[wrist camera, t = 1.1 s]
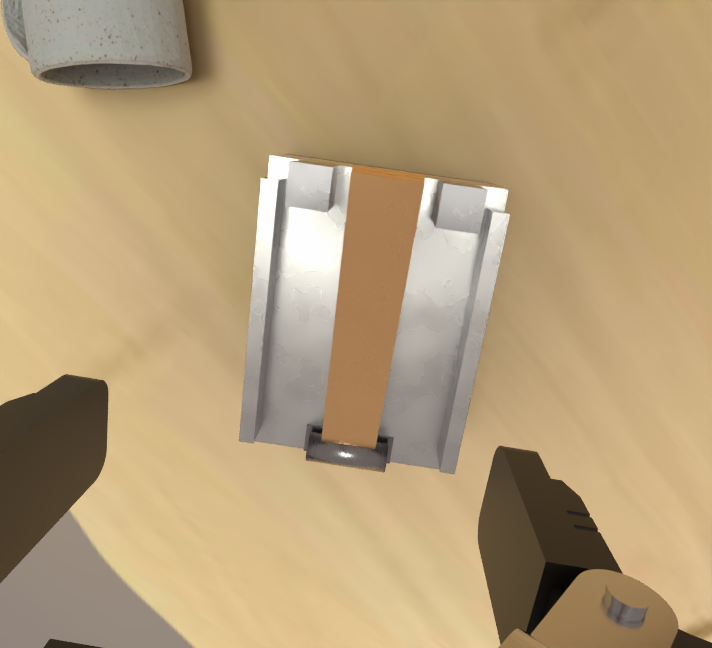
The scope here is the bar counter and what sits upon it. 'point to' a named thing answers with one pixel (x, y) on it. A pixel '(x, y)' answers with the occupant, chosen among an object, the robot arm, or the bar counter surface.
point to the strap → (367, 315)
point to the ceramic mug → (101, 41)
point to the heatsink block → (417, 319)
